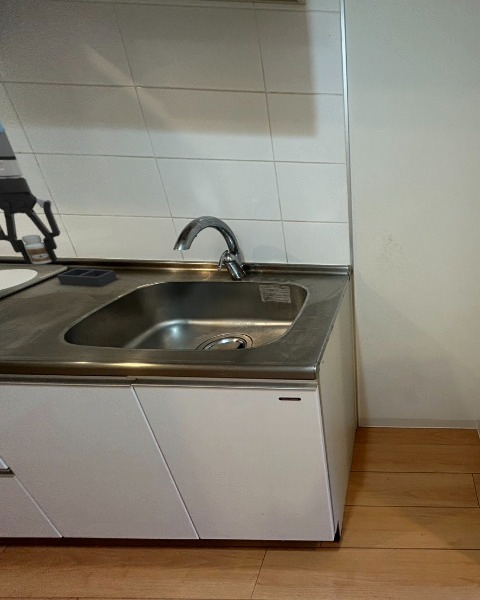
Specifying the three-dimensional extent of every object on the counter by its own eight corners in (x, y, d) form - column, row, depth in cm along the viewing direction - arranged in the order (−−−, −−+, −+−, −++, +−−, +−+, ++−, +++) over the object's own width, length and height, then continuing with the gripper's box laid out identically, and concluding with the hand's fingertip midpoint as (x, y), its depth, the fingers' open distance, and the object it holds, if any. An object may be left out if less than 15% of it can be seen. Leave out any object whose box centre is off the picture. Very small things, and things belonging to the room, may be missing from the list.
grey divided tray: (100, 286, 109) (96, 277, 108) (60, 284, 109) (56, 275, 107) (117, 279, 116) (113, 270, 114) (79, 276, 115) (75, 268, 114)
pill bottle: (34, 265, 88) (21, 239, 85) (29, 262, 90) (17, 236, 87) (55, 261, 91) (44, 236, 88) (51, 258, 93) (39, 233, 90)
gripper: (-58, 178, 73) (-8, 270, 83) (49, 178, 83) (82, 260, 93) (-47, 174, 78) (0, 262, 88) (53, 175, 88) (84, 253, 98)
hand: (42, 261), depth 90 cm, fingers closed on pill bottle, 4 cm apart
